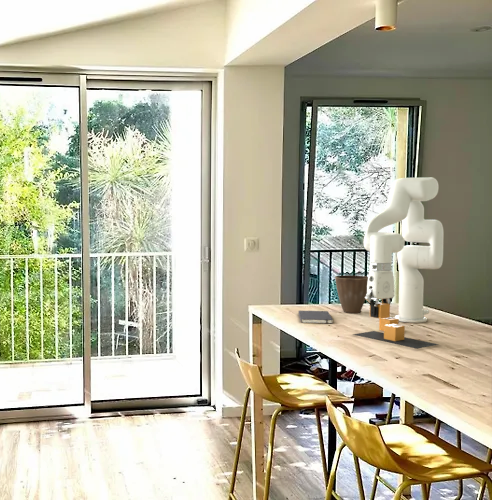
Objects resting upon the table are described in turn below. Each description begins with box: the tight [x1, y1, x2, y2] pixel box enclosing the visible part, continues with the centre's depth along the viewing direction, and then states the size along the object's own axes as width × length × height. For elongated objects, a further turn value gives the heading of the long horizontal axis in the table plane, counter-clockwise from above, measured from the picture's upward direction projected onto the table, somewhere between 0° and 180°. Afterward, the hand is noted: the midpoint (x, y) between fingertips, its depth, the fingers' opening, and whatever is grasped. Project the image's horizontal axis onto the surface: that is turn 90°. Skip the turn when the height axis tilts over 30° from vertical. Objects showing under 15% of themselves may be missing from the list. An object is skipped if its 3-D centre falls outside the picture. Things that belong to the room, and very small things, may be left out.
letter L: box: [369, 301, 391, 319], centre depth 239 cm, size 5×5×5 cm
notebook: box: [298, 310, 334, 324], centre depth 279 cm, size 13×2×21 cm
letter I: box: [383, 324, 406, 341], centre depth 234 cm, size 5×5×5 cm
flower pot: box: [334, 274, 368, 314], centre depth 294 cm, size 15×15×16 cm
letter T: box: [378, 316, 400, 332], centre depth 251 cm, size 5×5×5 cm
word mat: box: [352, 330, 440, 350], centre depth 234 cm, size 12×28×1 cm, turn 30°
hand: (379, 315), depth 239 cm, fingers closed on letter L, 5 cm apart
